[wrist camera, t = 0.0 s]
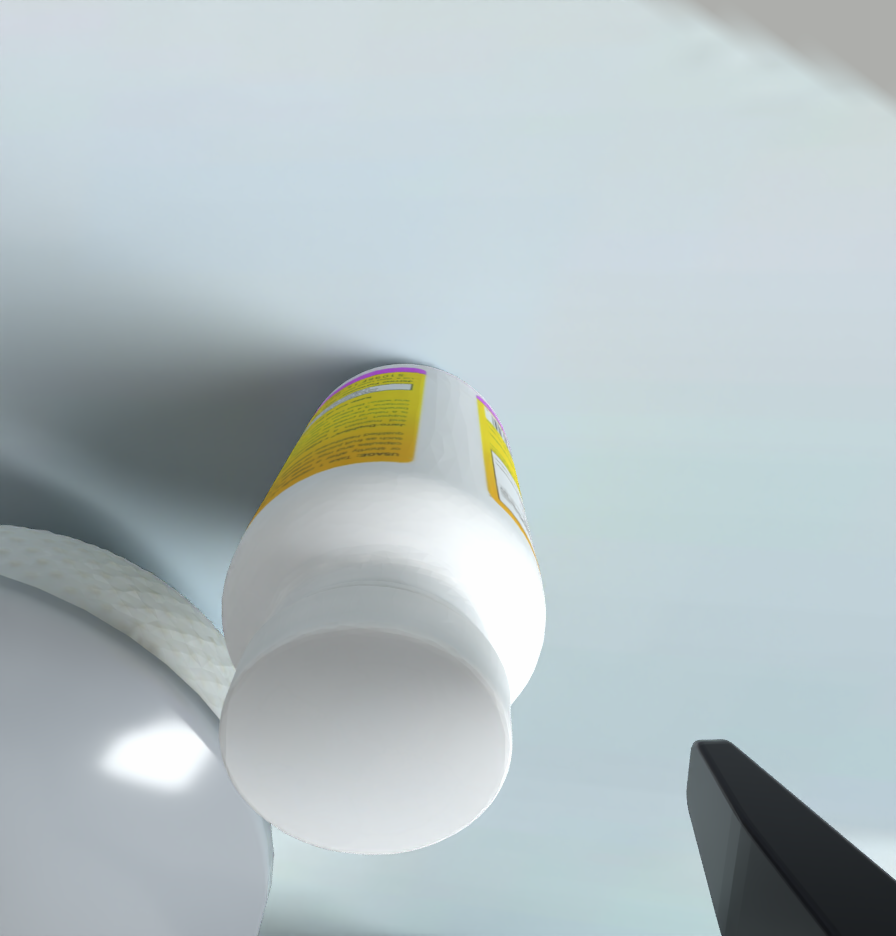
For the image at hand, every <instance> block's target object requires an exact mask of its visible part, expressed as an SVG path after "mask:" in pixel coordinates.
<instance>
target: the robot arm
mask: <svg viewBox="0 0 896 936" xmlns="http://www.w3.org/2000/svg"><path fill="white" fill-rule="evenodd" d="M687 805H688V810H689V814H690V818H691V822H692V826H693V830H694V833H695V837H696V841H697V845H698V849H699V853H700V856H701V860H702V864H703V868H704V872H705V875H706V879H707V883H708V887H709V891H710V895H711V898H712V902H713V906H714V910H715V914H716V917H717V921H718V925H719V928H720V932H721V935H722V936H896V880H895V879H894V878H892V877H891V876H890V875H889V874H888V873H886V872H885V871H884V870H883V869H882V868H880V867H879V866H878V865H877V864H876V863H874V862H873V861H872V860H871V859H870V858H869V857H867V856H866V855H865V854H864V853H863V852H861V851H860V850H859V849H858V848H857V847H855V846H854V845H853V844H852V843H851V842H849V841H848V840H847V839H846V838H845V837H844V836H842V835H841V834H840V833H839V832H838V831H836V830H835V829H834V828H833V827H832V826H830V825H829V824H828V823H827V822H826V821H824V820H823V819H822V818H821V817H820V816H818V815H817V814H816V813H815V812H814V811H813V810H811V809H810V808H809V807H808V806H807V805H805V804H804V803H803V802H802V801H801V800H799V799H798V798H797V797H796V796H795V795H793V794H792V793H791V792H790V791H789V790H787V789H786V788H785V787H784V786H783V785H782V784H780V783H779V782H778V781H777V780H776V779H774V778H773V777H772V776H771V775H770V774H768V773H767V772H766V771H765V770H764V769H762V768H761V767H760V766H759V765H758V764H756V763H755V762H754V761H753V760H752V759H751V758H749V757H748V756H747V755H746V754H745V753H743V752H742V751H741V750H740V749H739V748H737V747H736V746H735V745H734V744H732V743H731V742H729V741H727V740H723V739H717V740H697V741H695V742H694V743H693V745H692V748H691V753H690V763H689V772H688V781H687Z"/></svg>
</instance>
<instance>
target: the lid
mask: <svg viewBox="0 0 896 936" xmlns="http://www.w3.org/2000/svg"><path fill="white" fill-rule="evenodd" d="M219 723H220V719H219V718H218V717H217V716H216V715H215V713H214V712H213V711H212V710H211V709H210V707H209V706H208V705H207V704H206V703H205V701H204V700H203V699H202V698H201V697H200V695H199V694H198V693H196V692H195V691H194V690H193V689H192V688H191V687H190V686H189V685H188V684H187V683H186V682H185V681H184V680H183V679H181V678H180V677H179V676H178V675H177V674H176V673H175V672H174V671H173V670H172V669H171V668H170V667H169V666H168V665H167V664H165V663H164V662H163V661H161V660H160V659H159V658H157V657H156V656H155V655H153V654H152V653H151V652H149V651H148V650H147V649H145V648H144V647H143V646H141V645H140V644H139V643H137V642H136V641H135V640H133V639H132V638H131V637H129V636H128V635H126V634H124V633H123V632H121V631H119V630H118V629H116V628H114V627H113V626H111V625H109V624H108V623H106V622H104V621H103V620H101V619H99V618H98V617H96V616H94V615H93V614H91V613H89V612H88V611H86V610H84V609H82V608H80V607H78V606H75V605H73V604H71V603H69V602H67V601H65V600H63V599H60V598H58V597H56V596H54V595H52V594H50V593H48V592H45V591H43V590H41V589H39V588H37V587H34V586H31V585H28V584H25V583H22V582H19V581H16V580H14V579H11V578H8V577H5V576H2V575H0V936H258V933H259V929H260V926H261V922H262V919H263V915H264V911H265V907H266V903H267V899H268V896H269V892H270V888H271V884H272V871H273V859H274V852H273V842H272V832H271V824H270V823H269V822H268V821H266V820H265V819H264V818H262V817H261V816H260V815H259V814H258V813H256V812H255V811H254V810H253V809H252V808H251V807H250V806H249V804H248V803H247V802H246V801H245V800H244V799H243V798H242V796H241V795H240V794H239V793H238V791H237V790H236V788H235V787H234V785H233V783H232V781H231V779H230V778H229V776H228V773H227V771H226V768H225V765H224V763H223V760H222V755H221V749H220V742H219Z"/></svg>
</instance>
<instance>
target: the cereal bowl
mask: <svg viewBox="0 0 896 936" xmlns="http://www.w3.org/2000/svg"><path fill="white" fill-rule="evenodd" d="M0 575H2V576H5V577H8V578H11V579H14V580H16V581H19V582H22V583H25V584H28V585H31V586H34V587H37V588H39V589H41V590H43V591H45V592H48V593H50V594H52V595H54V596H56V597H58V598H60V599H63V600H65V601H67V602H69V603H71V604H73V605H75V606H78V607H80V608H82V609H84V610H86V611H88V612H89V613H91V614H93V615H94V616H96V617H98V618H99V619H101V620H103V621H104V622H106V623H108V624H109V625H111V626H113V627H114V628H116V629H118V630H119V631H121V632H123V633H124V634H126V635H128V636H129V637H131V638H132V639H133V640H135V641H136V642H137V643H139V644H140V645H141V646H143V647H144V648H145V649H147V650H148V651H149V652H151V653H152V654H153V655H155V656H156V657H157V658H159V659H160V660H161V661H163V662H164V663H165V664H167V665H168V666H169V667H170V668H171V669H172V670H173V671H174V672H175V673H176V674H177V675H178V676H179V677H180V678H181V679H183V680H184V681H185V682H186V683H187V684H188V685H189V686H190V687H191V688H192V689H193V690H194V691H195V692H196V693H198V694H199V695H200V697H201V698H202V699H203V700H204V701H205V703H206V704H207V705H208V706H209V707H210V709H211V710H212V711H213V712H214V713H215V715H216V716H217V717H218V718H219V719H220V717H221V711H222V706H223V703H224V700H225V697H226V695H227V692H228V689H229V687H230V684H231V682H232V679H233V677H234V674H235V672H236V669H235V667H234V665H233V663H232V661H231V658H230V656H229V653H228V650H227V647H226V642H225V638H224V637H223V635H222V634H221V633H220V632H219V631H218V630H217V629H216V628H215V626H214V625H213V624H212V622H211V621H210V620H209V619H208V618H207V617H205V616H204V615H203V613H202V612H200V610H199V609H198V608H196V607H195V606H194V605H193V604H192V603H191V602H190V601H189V600H187V599H186V598H185V597H183V596H182V595H181V594H180V593H179V592H178V591H177V590H176V589H174V588H172V587H171V586H169V585H168V584H167V583H165V582H164V581H163V580H161V579H159V578H157V577H156V576H155V575H154V574H153V573H151V572H149V571H146V570H143V569H142V568H140V567H139V566H137V565H136V564H134V563H132V562H129V561H128V560H126V559H125V558H124V557H120V556H117V555H115V554H113V553H112V552H110V551H108V550H105V549H100V548H99V547H97V546H96V545H92V544H87V543H85V542H83V541H81V540H79V539H73V538H71V537H69V536H63V535H58V534H54V533H52V532H49V531H47V530H37V529H29V528H26V527H16V526H13V525H0Z"/></svg>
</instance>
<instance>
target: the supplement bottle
mask: <svg viewBox="0 0 896 936" xmlns="http://www.w3.org/2000/svg"><path fill="white" fill-rule="evenodd" d="M545 623H546V606H545V595H544V590H543V585H542V580H541V575H540V570H539V566H538V563H537V559H536V555H535V551H534V546H533V544H532V539H531V535H530V531H529V527H528V522H527V518H526V514H525V509H524V505H523V501H522V497H521V493H520V488H519V483H518V479H517V475H516V471H515V467H514V462H513V458H512V454H511V450H510V446H509V443H508V440H507V437H506V434H505V431H504V429H503V426H502V424H501V422H500V420H499V418H498V417H497V415H496V413H495V412H494V410H493V409H492V407H491V406H490V405H489V403H488V402H487V401H486V400H485V399H484V398H483V397H482V396H481V395H480V394H479V393H478V392H477V391H476V390H475V389H474V388H473V387H471V386H470V385H469V384H468V383H466V382H465V381H463V380H461V379H460V378H458V377H456V376H454V375H452V374H450V373H448V372H445V371H443V370H440V369H437V368H433V367H429V366H424V365H416V364H392V365H385V366H380V367H376V368H372V369H370V370H367V371H364V372H362V373H360V374H358V375H356V376H354V377H352V378H351V379H349V380H347V381H345V382H344V383H343V384H341V385H340V386H339V387H337V388H336V389H335V390H334V391H333V392H332V393H331V394H330V395H329V396H328V397H327V398H326V399H325V400H324V401H323V403H322V404H321V405H320V407H319V408H318V410H317V411H316V413H315V414H314V416H313V417H312V419H311V420H310V422H309V423H308V425H307V427H306V429H305V431H304V432H303V434H302V436H301V437H300V439H299V440H298V442H297V444H296V446H295V448H294V449H293V451H292V452H291V454H290V456H289V457H288V459H287V461H286V463H285V464H284V466H283V468H282V469H281V471H280V473H279V474H278V476H277V478H276V480H275V481H274V483H273V485H272V487H271V488H270V490H269V492H268V494H267V496H266V497H265V499H264V500H263V502H262V504H261V505H260V507H259V509H258V510H257V512H256V514H255V515H254V517H253V519H252V520H251V522H250V524H249V525H248V527H247V529H246V531H245V533H244V535H243V537H242V538H241V541H240V543H239V544H238V546H237V549H236V551H235V553H234V555H233V558H232V560H231V563H230V566H229V569H228V572H227V575H226V579H225V584H224V589H223V596H222V625H223V632H224V637H225V642H226V647H227V650H228V653H229V656H230V658H231V661H232V663H233V665H234V667H235V669H236V672H235V674H234V677H233V679H232V682H231V684H230V687H229V689H228V692H227V695H226V697H225V700H224V703H223V706H222V711H221V717H220V723H219V742H220V749H221V755H222V760H223V763H224V765H225V768H226V771H227V773H228V776H229V778H230V779H231V781H232V783H233V785H234V787H235V788H236V790H237V791H238V793H239V794H240V795H241V796H242V798H243V799H244V800H245V801H246V802H247V803H248V804H249V806H250V807H251V808H252V809H253V810H254V811H255V812H256V813H258V814H259V815H260V816H261V817H262V818H264V819H265V820H266V821H268V822H269V823H270V824H272V825H273V826H275V827H276V828H278V829H279V830H281V831H282V832H284V833H285V834H287V835H290V836H292V837H294V838H296V839H298V840H300V841H303V842H305V843H308V844H311V845H314V846H317V847H320V848H324V849H328V850H332V851H336V852H345V853H353V854H367V855H379V854H396V853H402V852H408V851H412V850H416V849H420V848H423V847H426V846H429V845H432V844H435V843H437V842H439V841H442V840H444V839H446V838H448V837H450V836H452V835H454V834H456V833H457V832H459V831H461V830H462V829H464V828H465V827H467V826H468V825H470V824H471V823H472V822H473V821H474V820H475V819H477V818H478V817H479V816H480V815H481V814H482V813H483V812H484V811H485V810H486V809H487V808H488V807H489V805H490V804H491V803H492V802H493V800H494V799H495V797H496V796H497V794H498V792H499V791H500V789H501V787H502V785H503V783H504V780H505V778H506V775H507V773H508V770H509V766H510V761H511V755H512V723H511V704H512V703H513V702H514V701H515V699H516V698H517V697H518V696H519V694H520V693H521V692H522V690H523V689H524V687H525V686H526V684H527V683H528V681H529V679H530V677H531V675H532V673H533V671H534V669H535V666H536V664H537V661H538V658H539V655H540V652H541V649H542V645H543V640H544V633H545Z"/></svg>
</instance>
